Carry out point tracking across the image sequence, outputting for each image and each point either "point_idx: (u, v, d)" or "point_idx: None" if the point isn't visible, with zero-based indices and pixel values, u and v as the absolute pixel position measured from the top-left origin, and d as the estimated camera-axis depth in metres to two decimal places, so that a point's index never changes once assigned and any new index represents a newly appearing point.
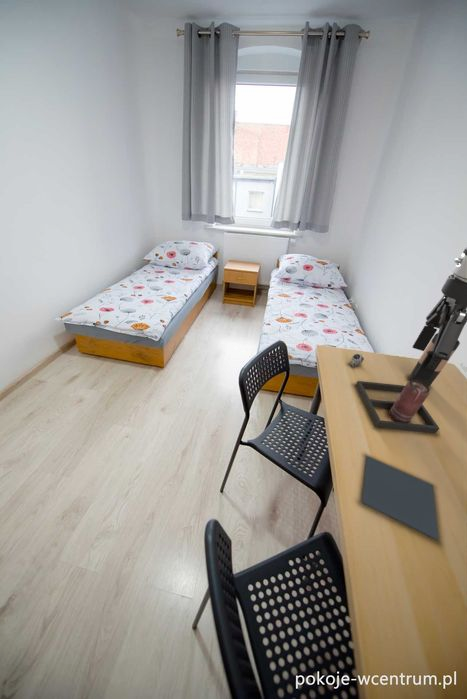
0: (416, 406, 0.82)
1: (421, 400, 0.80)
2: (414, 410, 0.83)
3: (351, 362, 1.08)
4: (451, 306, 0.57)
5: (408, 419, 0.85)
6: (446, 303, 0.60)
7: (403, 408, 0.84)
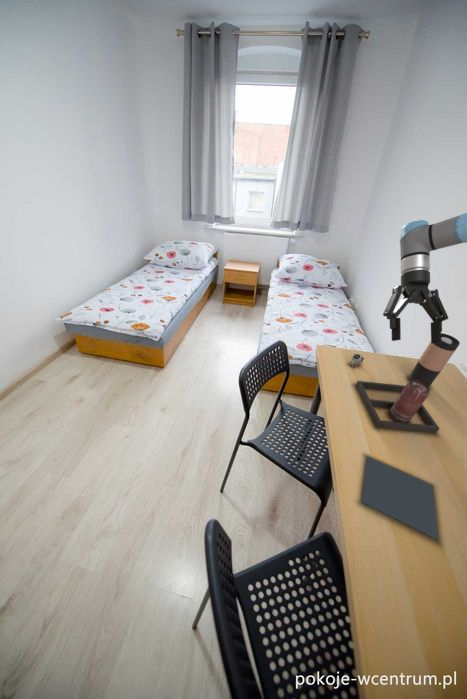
0: (416, 406, 0.82)
1: (421, 400, 0.80)
2: (414, 410, 0.83)
3: (351, 362, 1.08)
4: None
5: (408, 419, 0.85)
6: None
7: (403, 408, 0.84)
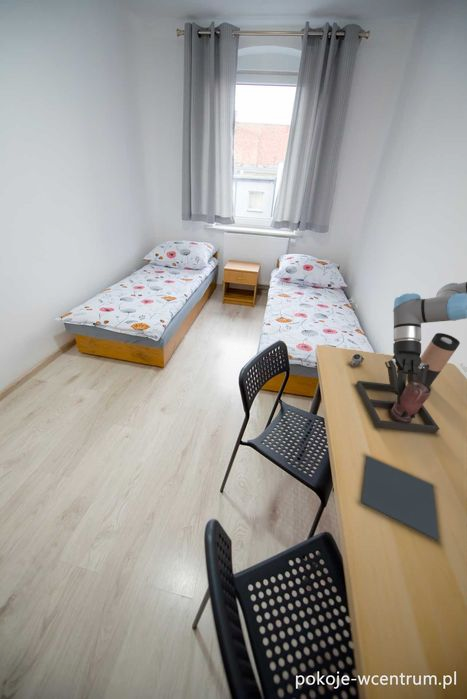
0: (417, 406, 0.81)
1: (423, 400, 0.80)
2: (415, 410, 0.83)
3: (351, 362, 1.08)
4: None
5: (409, 419, 0.85)
6: None
7: (404, 408, 0.83)
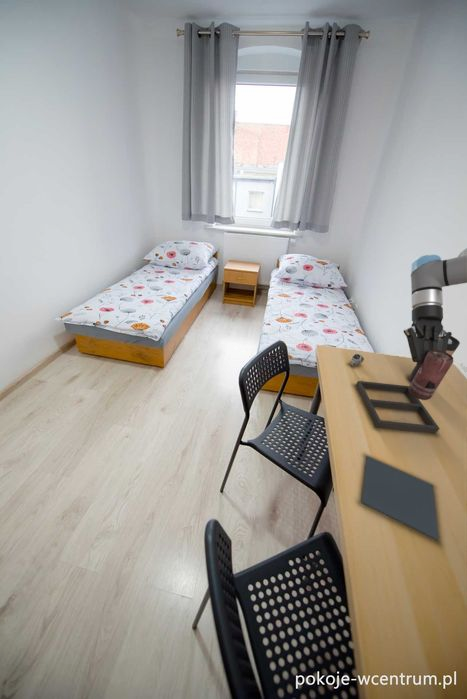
0: (441, 377, 0.75)
1: (446, 368, 0.74)
2: (438, 381, 0.76)
3: (351, 362, 1.08)
4: None
5: (432, 393, 0.78)
6: None
7: (426, 381, 0.77)
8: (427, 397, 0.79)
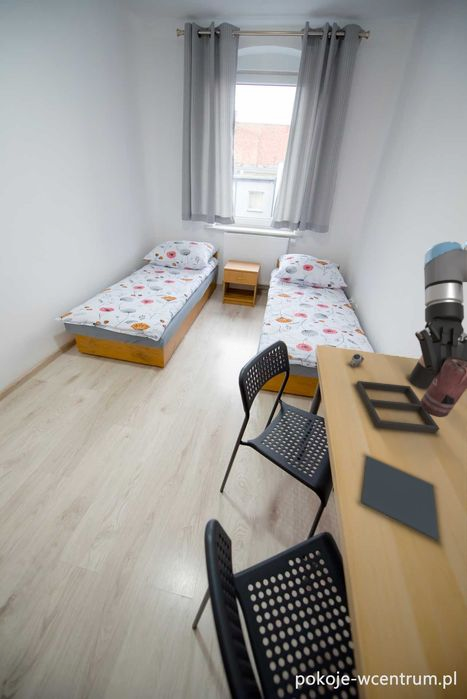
0: (462, 390, 0.61)
1: None
2: (458, 396, 0.62)
3: (351, 362, 1.08)
4: None
5: (449, 409, 0.64)
6: None
7: (443, 395, 0.63)
8: (443, 414, 0.65)
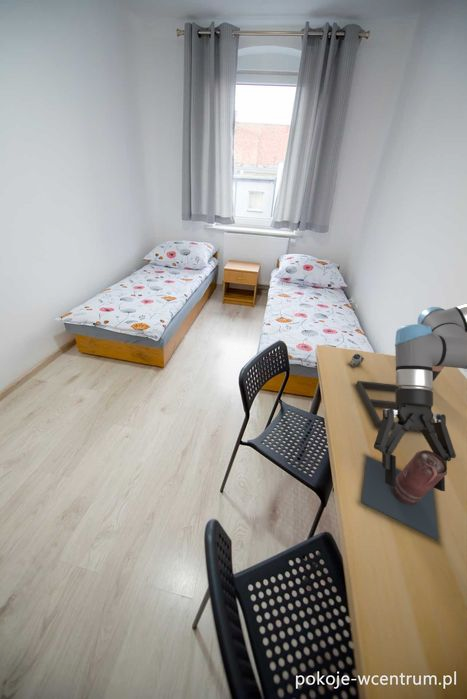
0: (430, 487, 0.60)
1: (437, 481, 0.58)
2: (427, 491, 0.61)
3: (351, 362, 1.08)
4: None
5: (418, 499, 0.64)
6: None
7: (412, 488, 0.62)
8: (412, 503, 0.64)
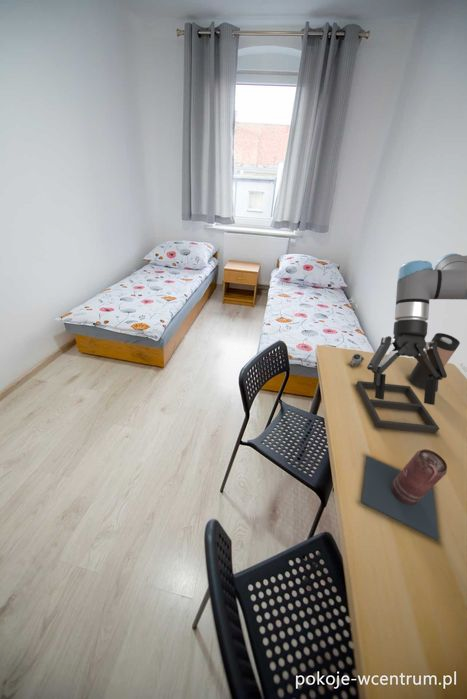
0: (430, 486, 0.60)
1: (437, 480, 0.59)
2: (427, 490, 0.61)
3: (351, 362, 1.08)
4: None
5: (418, 499, 0.64)
6: None
7: (412, 488, 0.62)
8: (412, 503, 0.64)
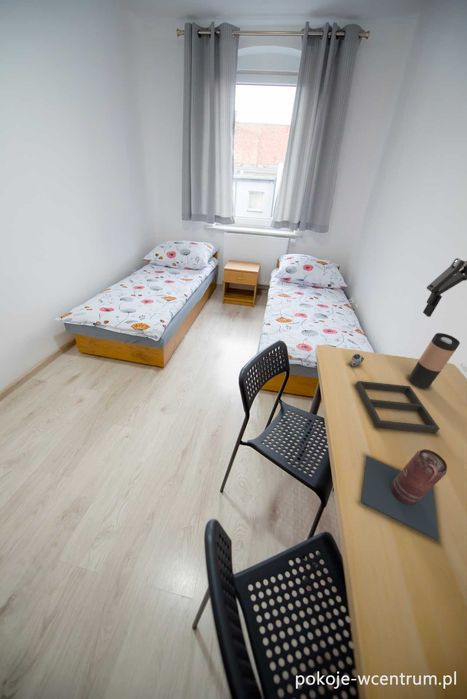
0: (430, 486, 0.60)
1: (437, 480, 0.59)
2: (427, 490, 0.61)
3: (351, 362, 1.08)
4: None
5: (418, 499, 0.64)
6: None
7: (412, 488, 0.62)
8: (412, 503, 0.64)
